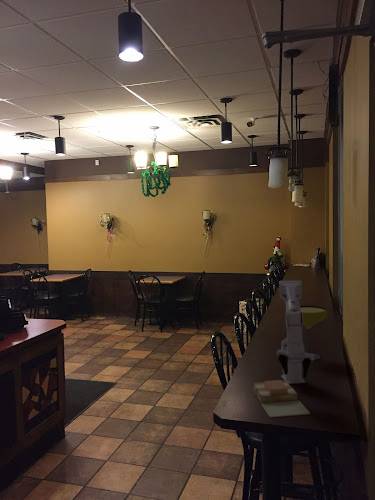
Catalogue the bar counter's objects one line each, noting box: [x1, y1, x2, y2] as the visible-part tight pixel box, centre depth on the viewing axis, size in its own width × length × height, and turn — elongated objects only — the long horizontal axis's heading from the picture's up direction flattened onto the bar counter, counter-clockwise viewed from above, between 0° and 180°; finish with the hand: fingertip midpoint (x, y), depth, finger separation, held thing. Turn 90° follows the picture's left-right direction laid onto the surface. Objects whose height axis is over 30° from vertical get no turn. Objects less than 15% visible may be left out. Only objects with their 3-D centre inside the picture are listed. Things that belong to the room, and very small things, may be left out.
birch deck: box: [252, 380, 298, 404], centre depth 168 cm, size 14×14×3 cm
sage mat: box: [260, 400, 311, 419], centre depth 155 cm, size 11×15×1 cm
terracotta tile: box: [263, 379, 288, 395], centre depth 166 cm, size 9×7×2 cm
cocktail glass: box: [300, 305, 328, 361], centre depth 213 cm, size 18×18×25 cm
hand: (295, 375), depth 164 cm, fingers open, 7 cm apart
